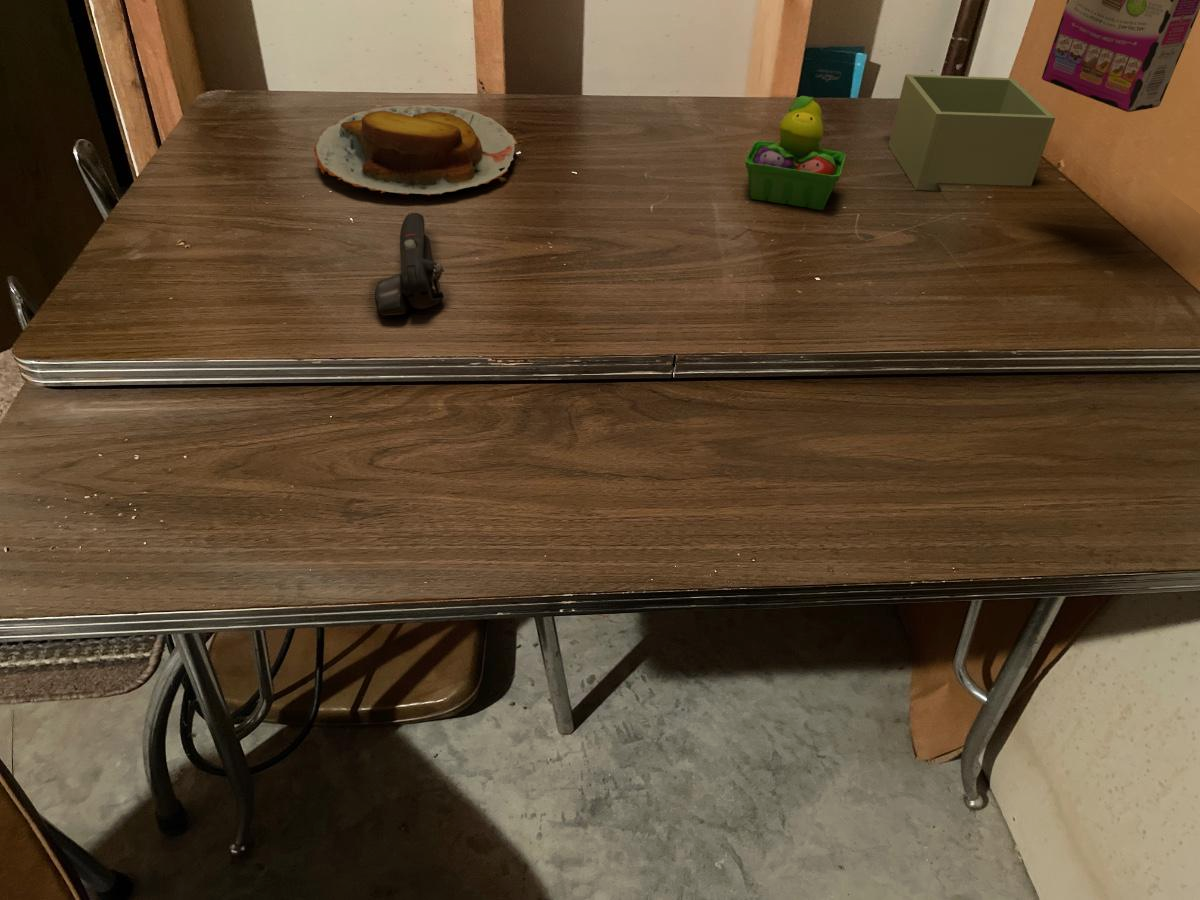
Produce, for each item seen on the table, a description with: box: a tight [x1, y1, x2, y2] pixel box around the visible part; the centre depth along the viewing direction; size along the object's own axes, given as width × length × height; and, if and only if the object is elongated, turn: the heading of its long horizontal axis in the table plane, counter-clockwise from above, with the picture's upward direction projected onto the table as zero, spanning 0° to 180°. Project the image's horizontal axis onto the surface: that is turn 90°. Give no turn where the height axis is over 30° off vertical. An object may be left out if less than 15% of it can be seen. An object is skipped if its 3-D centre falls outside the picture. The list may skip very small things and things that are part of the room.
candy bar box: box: [1041, 0, 1200, 113], centre depth 88 cm, size 11×5×16 cm, turn 28°
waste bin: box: [887, 73, 1056, 192], centre depth 119 cm, size 15×15×10 cm
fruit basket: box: [744, 95, 847, 211], centre depth 111 cm, size 11×9×11 cm
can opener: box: [374, 212, 446, 316], centre depth 93 cm, size 18×7×6 cm, turn 5°
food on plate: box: [313, 104, 520, 196], centre depth 115 cm, size 25×25×7 cm
